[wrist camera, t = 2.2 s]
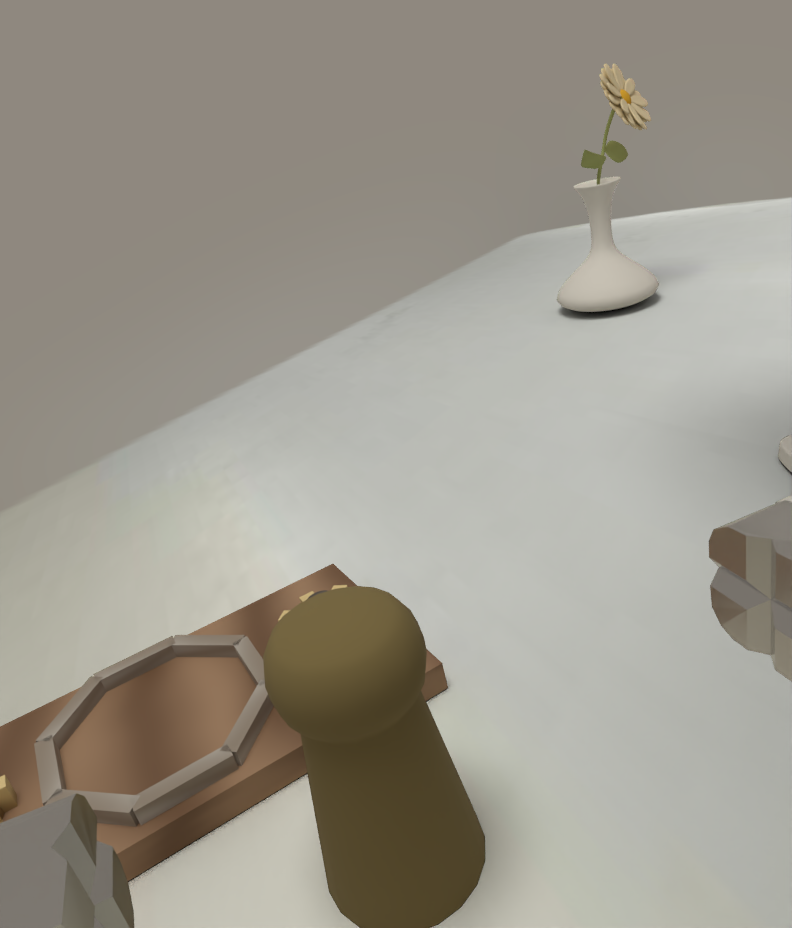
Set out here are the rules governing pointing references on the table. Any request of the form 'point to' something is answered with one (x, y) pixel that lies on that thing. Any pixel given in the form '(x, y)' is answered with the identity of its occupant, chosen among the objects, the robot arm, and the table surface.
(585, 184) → the flower in vase
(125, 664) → the gear board
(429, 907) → the cork
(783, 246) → the table surface
